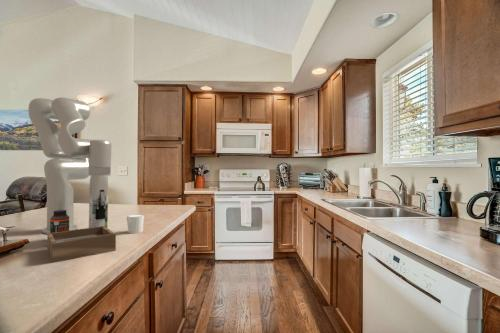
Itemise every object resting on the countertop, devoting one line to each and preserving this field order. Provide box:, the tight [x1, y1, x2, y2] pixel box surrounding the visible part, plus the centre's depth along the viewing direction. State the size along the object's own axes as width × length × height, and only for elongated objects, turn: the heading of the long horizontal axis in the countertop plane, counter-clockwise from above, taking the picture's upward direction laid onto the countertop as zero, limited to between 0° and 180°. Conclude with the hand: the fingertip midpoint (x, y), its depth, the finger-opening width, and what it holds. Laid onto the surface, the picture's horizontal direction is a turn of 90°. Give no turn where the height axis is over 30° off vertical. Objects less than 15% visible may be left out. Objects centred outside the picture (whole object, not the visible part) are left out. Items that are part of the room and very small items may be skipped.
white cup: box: [126, 213, 145, 234], centre depth 113 cm, size 7×7×7 cm
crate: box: [47, 226, 117, 263], centre depth 88 cm, size 16×17×6 cm
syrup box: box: [88, 196, 109, 228], centre depth 103 cm, size 6×6×14 cm
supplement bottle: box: [50, 210, 69, 233], centre depth 100 cm, size 6×6×11 cm
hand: (98, 217), depth 103 cm, fingers closed on syrup box, 6 cm apart
